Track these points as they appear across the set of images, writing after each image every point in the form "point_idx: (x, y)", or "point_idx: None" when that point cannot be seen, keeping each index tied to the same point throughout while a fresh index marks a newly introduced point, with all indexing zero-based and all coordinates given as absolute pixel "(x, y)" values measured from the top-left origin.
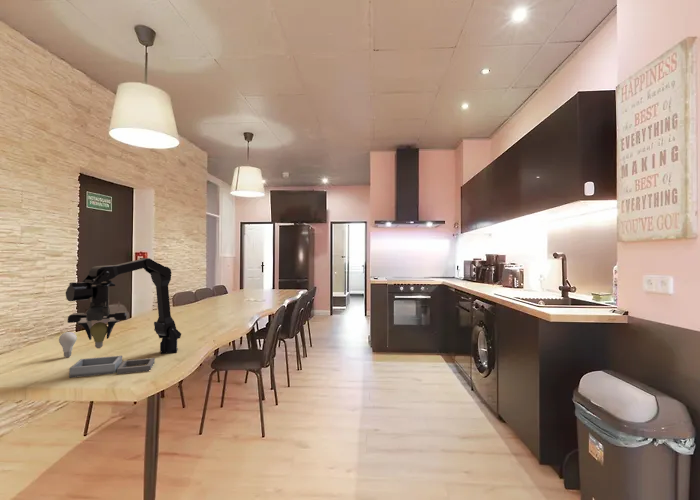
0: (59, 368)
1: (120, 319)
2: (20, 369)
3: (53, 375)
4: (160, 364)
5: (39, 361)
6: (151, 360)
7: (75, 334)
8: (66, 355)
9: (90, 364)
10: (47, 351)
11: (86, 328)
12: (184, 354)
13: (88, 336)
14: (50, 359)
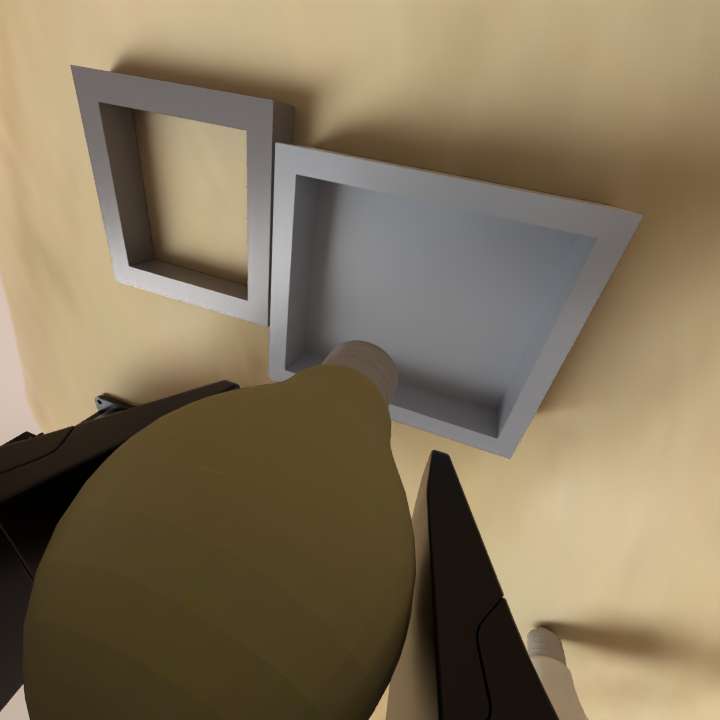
0: (618, 485)
1: None
2: None
3: (697, 352)
4: (101, 217)
5: (679, 660)
6: (113, 226)
7: None
8: (551, 638)
9: (452, 399)
10: None
11: (505, 705)
12: (58, 345)
13: (459, 493)
14: (621, 652)
